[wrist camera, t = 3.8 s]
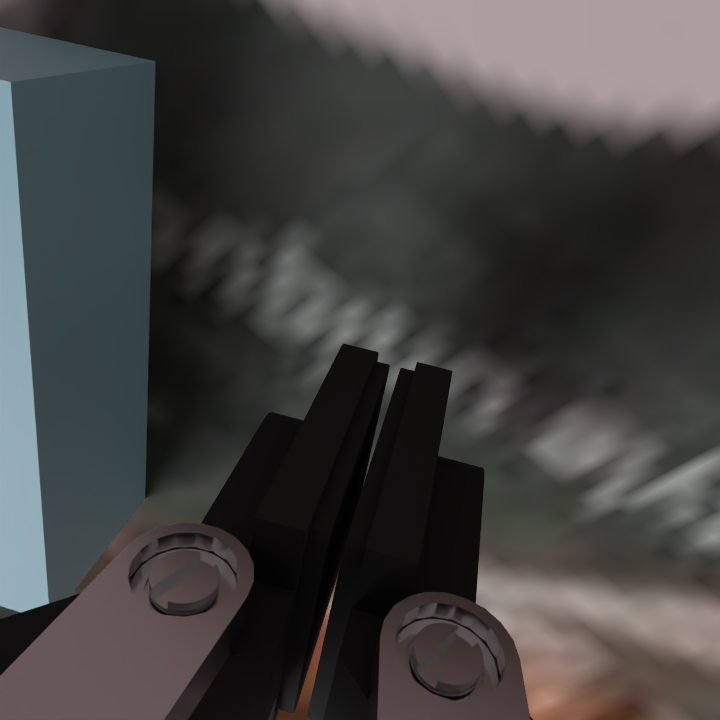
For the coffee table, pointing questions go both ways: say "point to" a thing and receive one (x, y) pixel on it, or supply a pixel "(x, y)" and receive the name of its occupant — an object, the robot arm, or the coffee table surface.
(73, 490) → the t block
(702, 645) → the coffee table surface
